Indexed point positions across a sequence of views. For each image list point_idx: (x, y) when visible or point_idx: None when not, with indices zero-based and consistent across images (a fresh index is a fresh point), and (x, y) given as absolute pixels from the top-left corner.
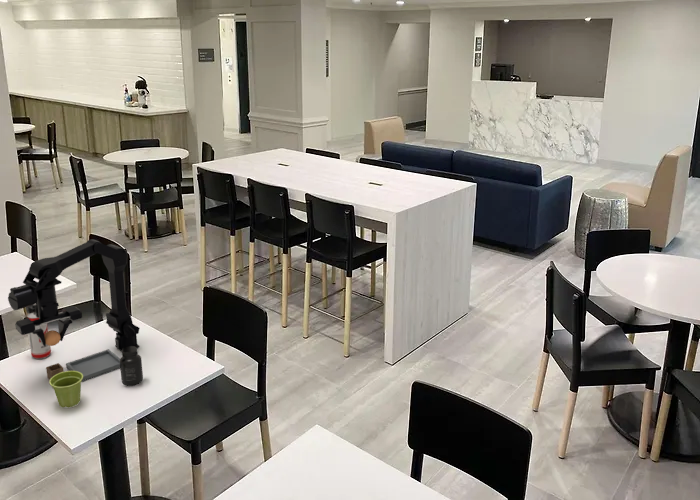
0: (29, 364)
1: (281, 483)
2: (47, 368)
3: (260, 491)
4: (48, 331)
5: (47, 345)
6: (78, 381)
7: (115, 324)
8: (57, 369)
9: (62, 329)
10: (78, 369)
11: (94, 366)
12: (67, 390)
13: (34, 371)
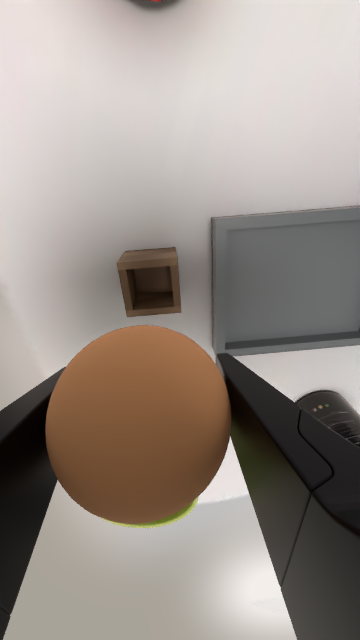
0: (65, 28)
1: (284, 606)
2: (120, 279)
3: (262, 607)
4: (98, 488)
5: None
6: (171, 521)
7: None
8: (156, 312)
9: (275, 568)
10: (239, 274)
11: (293, 288)
12: None
13: (84, 150)
